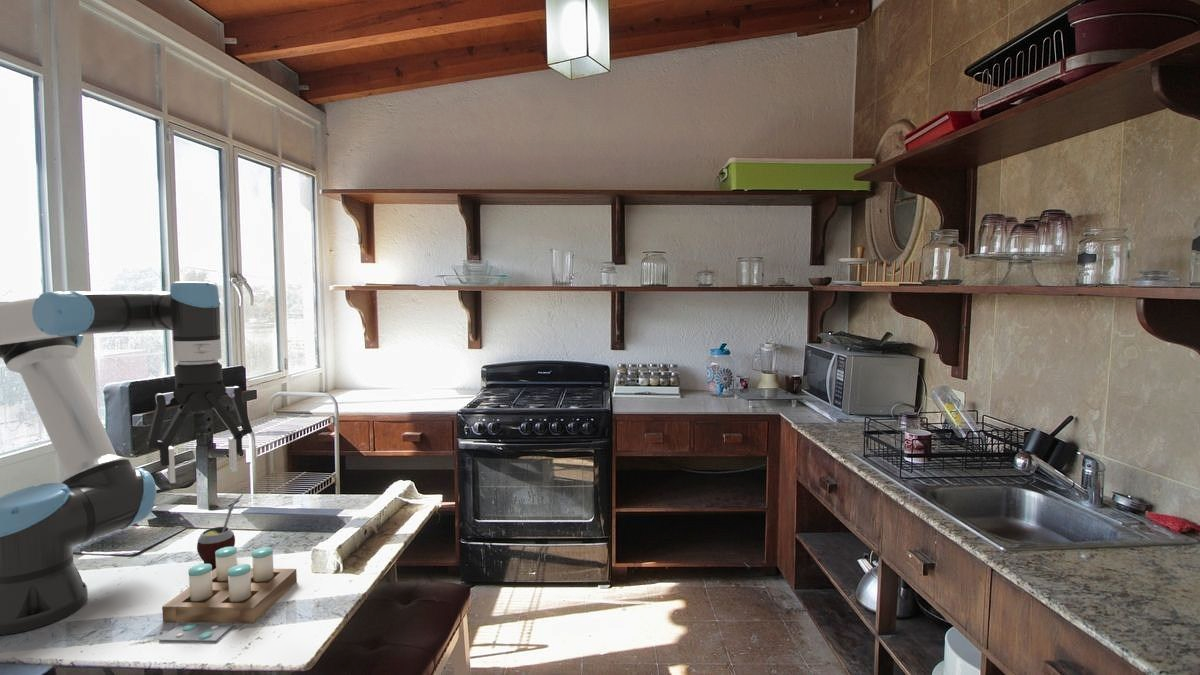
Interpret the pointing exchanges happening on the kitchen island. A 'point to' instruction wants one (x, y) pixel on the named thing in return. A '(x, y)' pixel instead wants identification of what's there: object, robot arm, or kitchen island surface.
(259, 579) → the button
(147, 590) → the kitchen island surface
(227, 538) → the mate gourd
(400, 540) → the kitchen island surface
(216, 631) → the card
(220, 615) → the board
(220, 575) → the button
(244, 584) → the button
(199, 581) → the button
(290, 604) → the kitchen island surface
